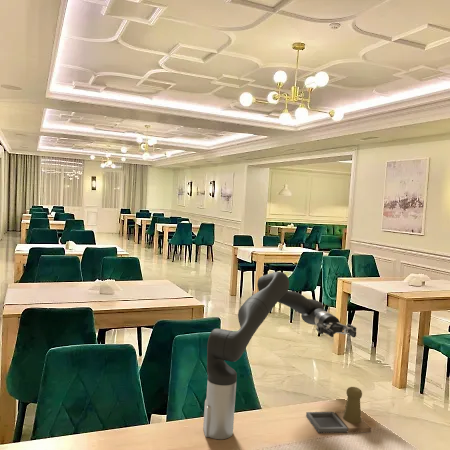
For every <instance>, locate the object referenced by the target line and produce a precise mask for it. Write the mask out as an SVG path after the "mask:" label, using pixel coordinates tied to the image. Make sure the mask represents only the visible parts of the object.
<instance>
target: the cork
mask: <svg viewBox="0 0 450 450" xmlns="http://www.w3.org/2000/svg"><path fill="white" fill-rule="evenodd" d="M346 396H347V399H346V403H345V409H344V411H343V412H344V416H343V419H344V420H345V421H347V422H350V423H360V422H361V418H362V415H361V414H362V413H361V411H362V410H361V399H362V396H363V391H362V390H361V388H359V387H356V386H349V387H347V389H346Z"/></svg>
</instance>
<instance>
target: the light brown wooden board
mask: <svg viewBox="0 0 450 450" xmlns="http://www.w3.org/2000/svg"><path fill="white" fill-rule="evenodd" d="M333 412H334V413H335V414H336V416H337V417H338V418H339V419H340V420H341V421H342V423H343V424H344V425H345V426H346V427H347V433H349V434H350V433H351V434H352V433H371V432H372V427H371V426H370V425H369V424H368V423H367V422H366V421H365V419H363V418H362V417H361V422H360V423H350V422H347V421H345V420H344V419H343V416H344V411H333Z"/></svg>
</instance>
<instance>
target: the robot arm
mask: <svg viewBox="0 0 450 450" xmlns="http://www.w3.org/2000/svg"><path fill="white" fill-rule="evenodd" d="M256 284H257V290H258V291H257V292H256V293H254V294H252V295H251V296H249V297H248V298H246V300H244V303H242V305H241V306H240V308H239V309H238V313H237V318H238V323H239V329H238V330H236V331H233V330H228V329H223V328H214V329H212V330H211V331H210V333H209V336H208V339H207V343H206V349H207V350H206V353H207V354H206V373H207V385H206V398H205V400H204V411H203V424H202V425H203V427H202V428H203V433H204V436H205V437H206V438H210V439H215V440H224V439H229V438H230V437H232V436H233V435H234V420H235V408H236V407H235V405H236V393H237V380H238V378H237V377H238V376H237V374H238V373H237V372H236V370H235V369H234V368H232V366H230V365H229V364H228V363H227V362H234V363H235V362H237V361H238V360H240V358H242V356H243V354H244V353H245V351H246V349H247V347H248V345H249V344H250V342H251V339H252V338H253V336H254V335H255V333H256V332H257V330H258V329H259V327H260V326H261V325H262V324H263V322H264V321H265V320H266V319H267V318H268V315H270V314H269V313H271V311H272V310H273V308H274V307H275V306H276V304H277V303H278V304H282V305H285V306H286V307H288V308H290V309H291V310H293V311H295V312H297V313H298V314H299V315H301V319H302V321H303V322H304V323H306V324H308V325H312V326H316V327H315V330H316V331H317V332H318V333H319V334H321V335H323V334H324V335H328V336H329V337H330V338H334V335H335V334H341V335H349V336H351V337H352V338H356V337H357V327H356V326H354V325H352V324H350V323H347V324H343V323H341V321H340V319H339V318H338V317H337V316H335V315H333V314H332V313H330V312H328V311H326V310H325V308H324V304H323V303H322V302H320V301H318V300H316V299H310V298H308V297H306V296H304V295H303V294H301V293H299V292H296V291H293V290H289V288H290V280H289V277H288V275H287V274H286V273H284V272H282V271H275V272H271V273H266V274H264V275H262V276H260V277H259V278H258V279H257V283H256ZM226 361H227V362H226Z"/></svg>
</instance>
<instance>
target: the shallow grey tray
mask: <svg viewBox="0 0 450 450" xmlns="http://www.w3.org/2000/svg"><path fill="white" fill-rule="evenodd" d="M334 412H335V411H308V412H306V413H305V417H306V418H307V420H308V421H309V422H310V424H311V425H312V426H313V428H314V429H315V430H316V432H317V433H318V434H345V433H348V431H347V427H346V426H345V425H344V424H343V423H342V421H341V420H340V419H339V418H338V417H337V416H336V414H335V413H334Z"/></svg>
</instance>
